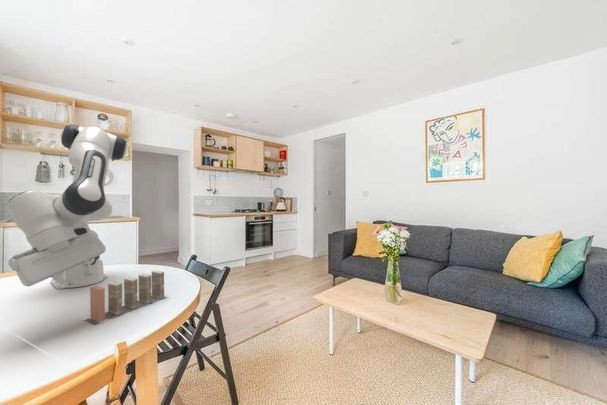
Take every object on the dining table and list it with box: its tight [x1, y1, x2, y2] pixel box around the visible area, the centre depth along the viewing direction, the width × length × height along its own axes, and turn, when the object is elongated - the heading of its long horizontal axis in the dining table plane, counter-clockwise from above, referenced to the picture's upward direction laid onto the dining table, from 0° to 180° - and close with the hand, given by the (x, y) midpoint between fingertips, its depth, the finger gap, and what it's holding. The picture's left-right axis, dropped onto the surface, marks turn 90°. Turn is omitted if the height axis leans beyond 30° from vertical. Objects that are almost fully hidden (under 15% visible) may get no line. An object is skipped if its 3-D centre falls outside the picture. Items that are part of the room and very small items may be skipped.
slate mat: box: [82, 296, 169, 326], centre depth 89 cm, size 7×24×1 cm, turn 154°
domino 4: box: [151, 270, 165, 300], centre depth 99 cm, size 2×5×10 cm, turn 64°
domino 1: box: [107, 281, 123, 315], centre depth 85 cm, size 2×5×10 cm, turn 64°
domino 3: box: [138, 273, 152, 304], centre depth 94 cm, size 2×5×10 cm, turn 64°
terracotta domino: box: [89, 285, 106, 322], centre depth 80 cm, size 2×5×10 cm, turn 64°
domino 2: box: [123, 276, 139, 309], centre depth 90 cm, size 2×5×10 cm, turn 64°
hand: (79, 280), depth 77 cm, fingers open, 4 cm apart
